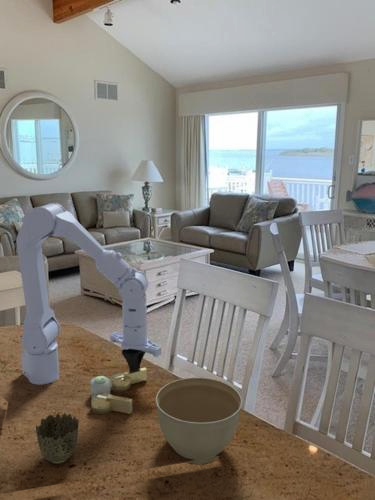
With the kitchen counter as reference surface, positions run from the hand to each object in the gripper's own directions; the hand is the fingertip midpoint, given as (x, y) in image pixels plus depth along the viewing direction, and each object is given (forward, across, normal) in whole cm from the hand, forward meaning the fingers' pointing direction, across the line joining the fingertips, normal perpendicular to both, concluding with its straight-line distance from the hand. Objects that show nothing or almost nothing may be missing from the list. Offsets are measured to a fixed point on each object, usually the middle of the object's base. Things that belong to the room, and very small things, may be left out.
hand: (135, 375), depth 112 cm
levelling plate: (+2, -2, -10) cm, 10 cm away
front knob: (+1, +4, -13) cm, 14 cm away
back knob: (+1, 0, -3) cm, 3 cm away
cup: (+2, +8, -30) cm, 31 cm away
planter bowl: (+2, +26, -12) cm, 29 cm away
